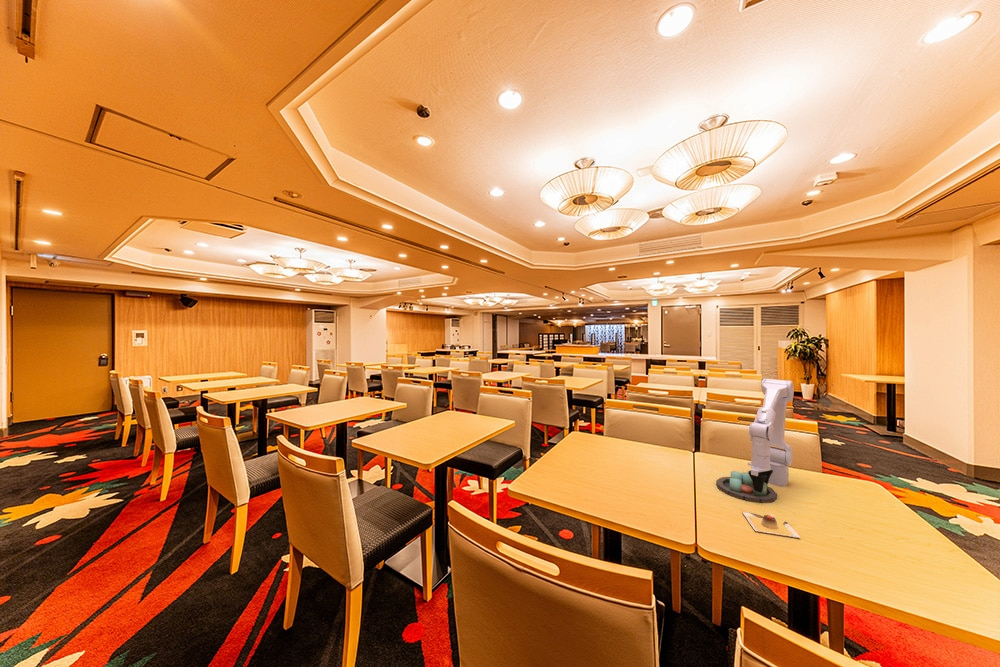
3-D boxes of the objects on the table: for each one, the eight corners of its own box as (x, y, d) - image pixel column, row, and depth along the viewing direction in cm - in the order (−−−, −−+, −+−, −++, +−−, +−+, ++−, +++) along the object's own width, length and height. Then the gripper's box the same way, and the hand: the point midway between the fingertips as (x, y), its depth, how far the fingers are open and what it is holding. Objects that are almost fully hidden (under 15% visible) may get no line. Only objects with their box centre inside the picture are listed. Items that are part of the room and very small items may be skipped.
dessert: (755, 534, 110) (755, 519, 110) (741, 515, 121) (742, 501, 121) (801, 541, 106) (801, 526, 106) (783, 520, 117) (783, 507, 117)
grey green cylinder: (739, 491, 135) (739, 478, 135) (742, 495, 132) (742, 482, 132) (728, 489, 137) (728, 477, 137) (731, 494, 133) (731, 481, 133)
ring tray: (727, 478, 149) (727, 473, 149) (782, 495, 134) (782, 489, 134) (708, 491, 138) (708, 485, 138) (766, 511, 123) (766, 504, 123)
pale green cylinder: (743, 483, 142) (743, 471, 142) (754, 487, 139) (754, 474, 139) (740, 486, 140) (740, 474, 140) (751, 489, 137) (751, 477, 137)
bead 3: (769, 497, 130) (769, 484, 130) (759, 497, 130) (758, 484, 130) (761, 493, 134) (761, 480, 134) (751, 493, 134) (751, 480, 134)
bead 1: (732, 482, 144) (732, 470, 144) (743, 485, 140) (743, 473, 140) (729, 484, 141) (729, 472, 141) (739, 488, 138) (739, 475, 138)
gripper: (754, 447, 139) (754, 480, 139) (741, 455, 131) (741, 490, 131) (776, 452, 134) (776, 487, 134) (764, 461, 125) (764, 498, 125)
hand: (760, 489), depth 132 cm, fingers open, 5 cm apart
